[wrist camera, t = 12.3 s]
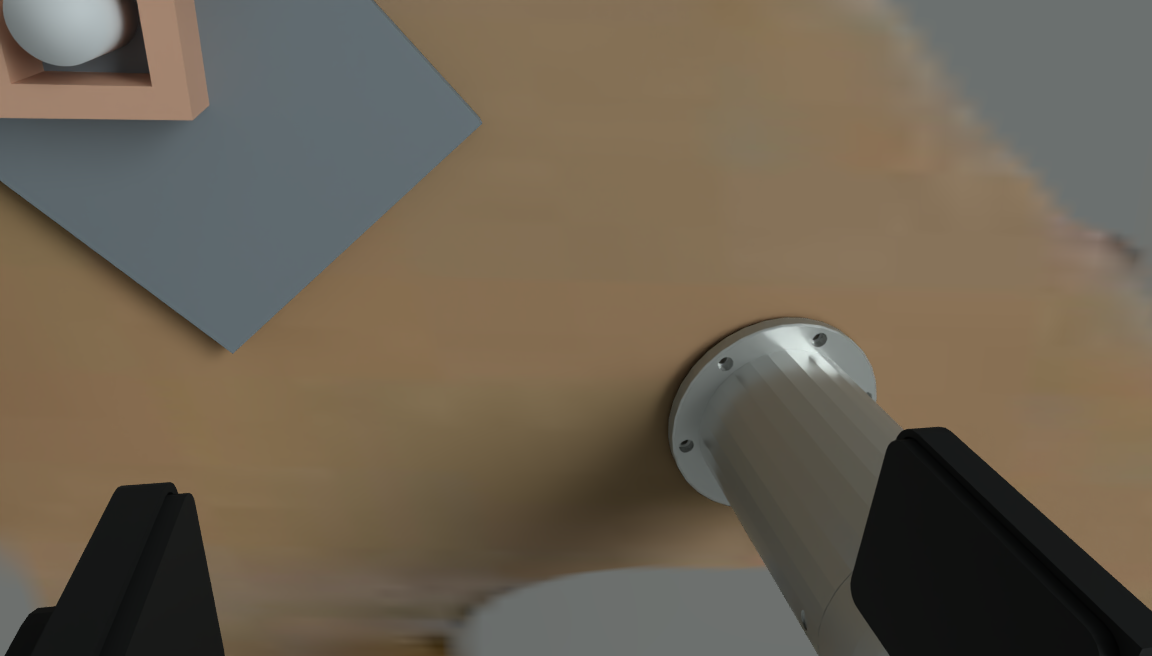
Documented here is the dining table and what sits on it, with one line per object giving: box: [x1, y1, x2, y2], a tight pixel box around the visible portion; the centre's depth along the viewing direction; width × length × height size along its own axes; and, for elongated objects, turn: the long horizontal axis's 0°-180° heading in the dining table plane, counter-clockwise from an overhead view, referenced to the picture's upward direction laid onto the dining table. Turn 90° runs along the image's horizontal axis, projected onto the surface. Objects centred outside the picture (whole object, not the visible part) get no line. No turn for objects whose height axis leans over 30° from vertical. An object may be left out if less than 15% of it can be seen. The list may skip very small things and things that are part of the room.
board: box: [0, 0, 482, 353], centre depth 30 cm, size 18×16×5 cm
